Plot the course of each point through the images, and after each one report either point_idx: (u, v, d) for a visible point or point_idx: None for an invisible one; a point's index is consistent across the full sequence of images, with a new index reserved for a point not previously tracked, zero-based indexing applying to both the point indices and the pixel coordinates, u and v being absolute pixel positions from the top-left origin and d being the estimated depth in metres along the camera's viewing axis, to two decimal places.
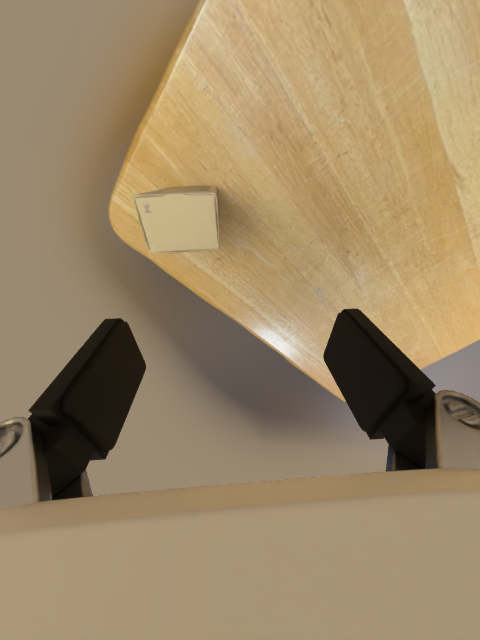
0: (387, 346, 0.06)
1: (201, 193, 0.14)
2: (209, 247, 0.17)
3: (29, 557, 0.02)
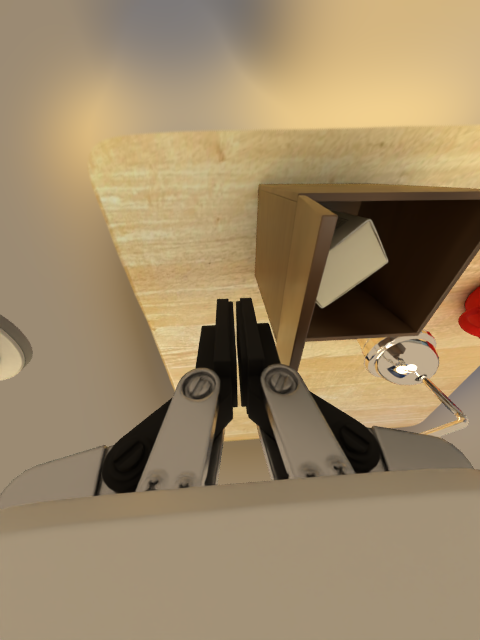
0: (249, 328, 0.07)
1: (355, 229, 0.14)
2: (377, 267, 0.15)
3: (29, 557, 0.02)
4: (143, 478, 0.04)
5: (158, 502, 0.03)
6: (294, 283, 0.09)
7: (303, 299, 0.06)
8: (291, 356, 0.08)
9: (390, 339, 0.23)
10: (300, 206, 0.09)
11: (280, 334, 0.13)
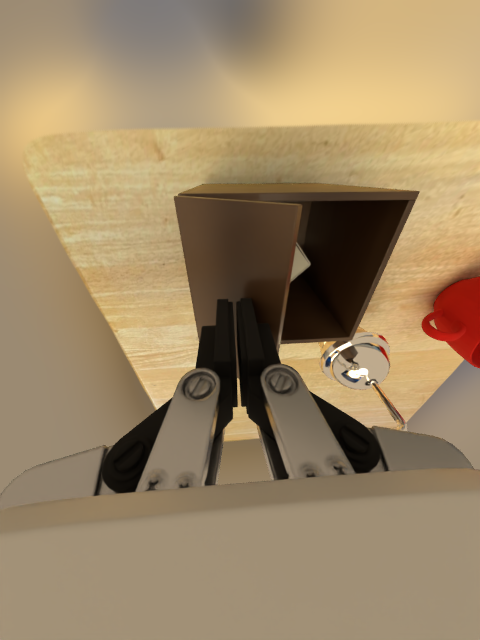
0: (249, 328, 0.07)
1: None
2: (300, 270, 0.15)
3: (29, 557, 0.02)
4: (143, 478, 0.04)
5: (158, 502, 0.03)
6: (237, 276, 0.09)
7: (285, 277, 0.08)
8: (278, 329, 0.09)
9: (341, 343, 0.23)
10: (197, 206, 0.09)
11: None
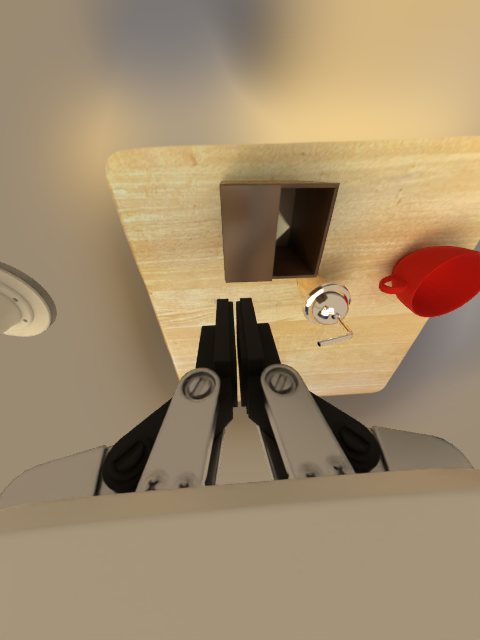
0: (249, 328, 0.07)
1: None
2: (283, 230, 0.25)
3: (29, 557, 0.02)
4: (143, 478, 0.04)
5: (158, 502, 0.03)
6: (256, 218, 0.22)
7: (278, 211, 0.21)
8: (275, 237, 0.23)
9: (315, 290, 0.33)
10: (236, 188, 0.20)
11: (237, 260, 0.24)
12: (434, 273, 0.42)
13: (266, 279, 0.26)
